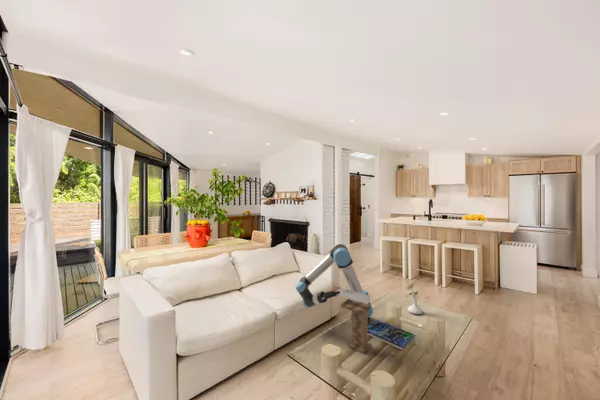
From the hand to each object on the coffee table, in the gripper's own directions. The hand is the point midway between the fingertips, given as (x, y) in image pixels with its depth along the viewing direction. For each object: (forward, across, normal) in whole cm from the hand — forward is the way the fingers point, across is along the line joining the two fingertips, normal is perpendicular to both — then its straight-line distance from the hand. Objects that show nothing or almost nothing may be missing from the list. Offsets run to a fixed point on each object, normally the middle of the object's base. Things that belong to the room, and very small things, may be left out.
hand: (345, 289), depth 182 cm
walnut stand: (-12, 0, -36) cm, 37 cm away
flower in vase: (+5, -70, -45) cm, 84 cm away
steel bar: (+1, 0, -6) cm, 6 cm away
